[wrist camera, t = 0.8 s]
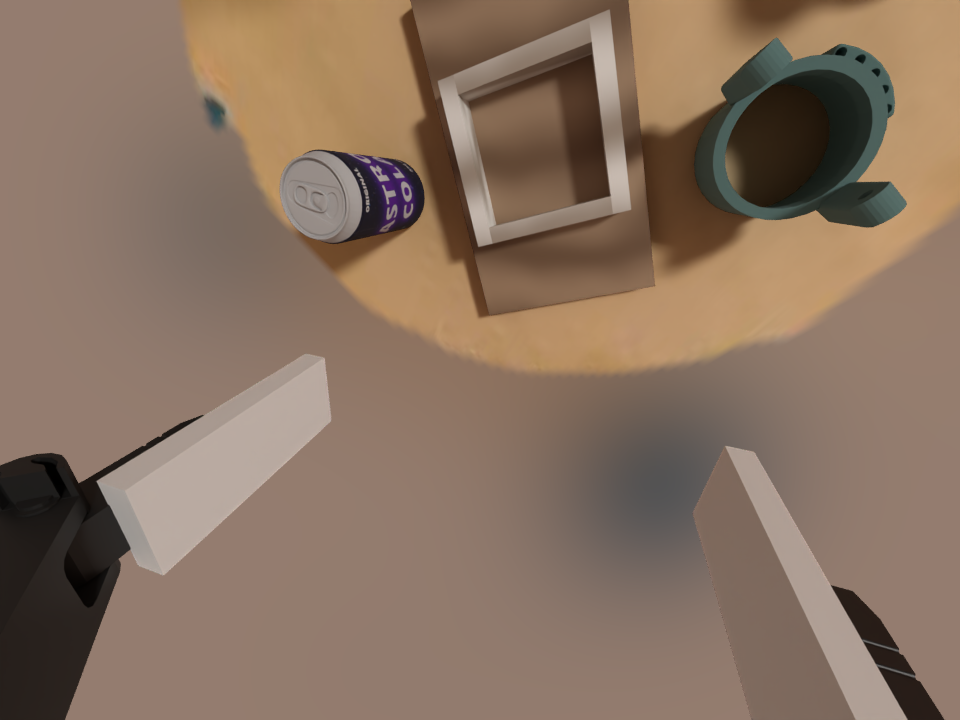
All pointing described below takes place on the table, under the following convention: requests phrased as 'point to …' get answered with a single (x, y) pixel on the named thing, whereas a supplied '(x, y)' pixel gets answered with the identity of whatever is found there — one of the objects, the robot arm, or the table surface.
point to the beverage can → (349, 195)
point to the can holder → (542, 144)
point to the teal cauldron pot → (851, 147)
